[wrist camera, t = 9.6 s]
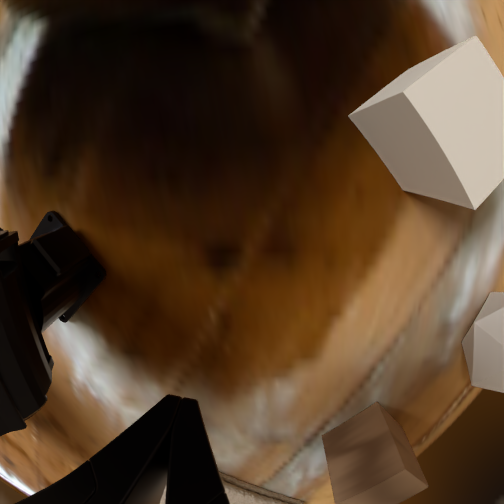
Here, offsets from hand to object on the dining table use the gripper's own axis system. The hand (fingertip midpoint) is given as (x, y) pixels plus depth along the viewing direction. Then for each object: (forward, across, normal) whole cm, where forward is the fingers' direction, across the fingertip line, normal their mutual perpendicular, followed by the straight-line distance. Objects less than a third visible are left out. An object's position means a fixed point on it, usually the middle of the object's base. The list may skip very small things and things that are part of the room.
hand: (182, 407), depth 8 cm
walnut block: (+13, -15, +15) cm, 25 cm away
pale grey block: (+13, -10, -11) cm, 20 cm away
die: (+13, -23, +2) cm, 27 cm away
